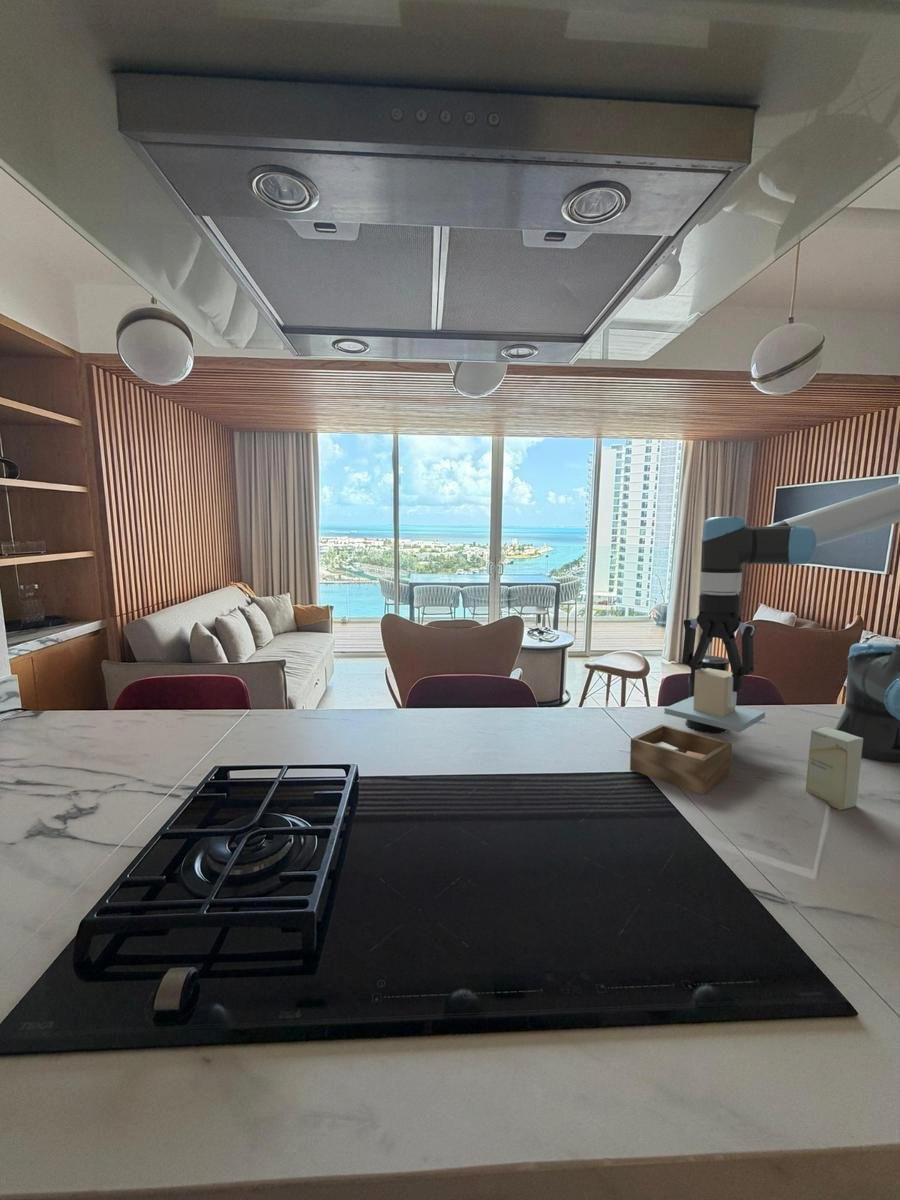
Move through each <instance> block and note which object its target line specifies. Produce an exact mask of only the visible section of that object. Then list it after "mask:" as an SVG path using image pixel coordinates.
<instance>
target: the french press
mask: <svg viewBox="0 0 900 1200" xmlns="http://www.w3.org/2000/svg"><path fill="white" fill-rule="evenodd" d="M712 643H713V639H712V640H711V641H710V644H709V646H708V655H707V654H705V656H704V659H703V661H702V664H701V665H702V666H701V667H700V668H703V669H706V668H711V669H717V670H722V671H729V664H730V662H729V659H728V657H722V656H715V655H711V649H712V648H711V646H712V645H711V644H712ZM693 657H694V655H693ZM687 683H688V698H690V697H692V696H694V683H691V674H690V675H689V676H687ZM685 726H686V727H687V726H688V727H687V728H689V729H690V728H691V729H690V730H693V729H694V730H693V731H696V730H697V731H696V732H700V731H701V732H700V733H705V732H709V733H708V734H722V733H721V732H724V733H726V732H725V731H727V729H723V728H720V727H716V726H712V725H708V724H704V723H700V722H696V721H692V720H688V719H686V721H685ZM727 732H728V731H727Z"/></svg>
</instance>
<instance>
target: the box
mask: <svg viewBox="0 0 900 1200" xmlns="http://www.w3.org/2000/svg"><path fill="white" fill-rule="evenodd" d="M659 742H664V743H667V744H669V745H671V746H674V747H676V748H679V749H678V751H676V750H672V749H669V748H665V747H662V746H659V745H655V743H659ZM687 751H691V752H695V753H700V754H704V755H706V756H704V757H703V758H699V757H696V756H692V755H689V754H686V752H687ZM629 753H630V761H629V770H631V771H633V772H636V773H639V774H640V775H641V774H642V775H645V776H647V777H650V778H653V779H657V780H659V781H661V782H664V783H667V784H671V785H673V786H676V787H678V788H682V789H684V790H688V791H691V792H693V793H696V794H698V795H703V796H704V795H705V794H706V793H708V792H709V791H710V790H712V789H713V788H715V787H716V786H717V785H719V784H720V783H722V781H724V780H725V779H728V778H729V777H730V776H731V773H732V756H733V755H732V753H733V743H732V742H729V741H724V740H721V739H717V738H715V737H709V736H707V735H702V734H699V733H696V732H692V731H687V730H683V729H679V728H676V727H673V726H669V725H666V724H659V725H656V726H655V727H653V728H651V729H649V730H646V731H645V732H642V733H640V734H637V735H636V736H634V737H632V738H630V751H629Z"/></svg>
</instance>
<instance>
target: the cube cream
mask: <svg viewBox="0 0 900 1200" xmlns="http://www.w3.org/2000/svg"><path fill="white" fill-rule="evenodd" d="M655 745H659V746H662V747H665V748H669V749H672V750H676V751H678V749H679V748H676V747H674V746H671V745H669V744H667V743H664V742H659V743H655Z"/></svg>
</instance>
